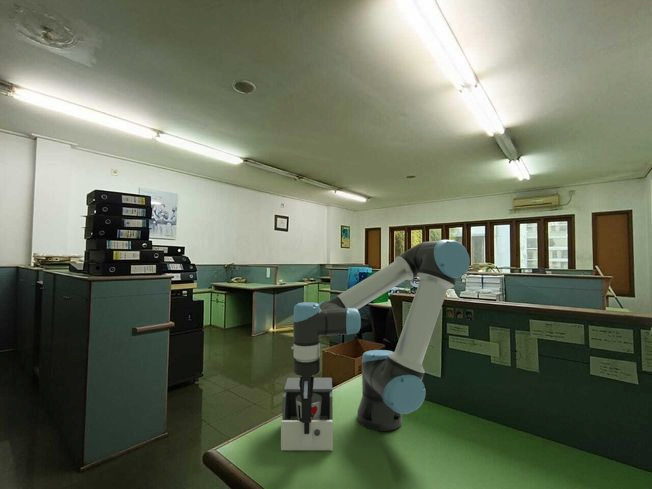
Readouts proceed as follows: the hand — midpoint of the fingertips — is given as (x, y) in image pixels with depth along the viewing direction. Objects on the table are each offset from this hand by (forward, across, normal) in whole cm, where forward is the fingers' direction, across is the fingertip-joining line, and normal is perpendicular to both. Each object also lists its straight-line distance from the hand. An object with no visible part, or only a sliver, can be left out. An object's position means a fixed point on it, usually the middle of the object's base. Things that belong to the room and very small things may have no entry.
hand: (306, 442), depth 86 cm
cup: (+2, -9, 0) cm, 10 cm away
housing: (+4, -10, 0) cm, 11 cm away
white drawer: (+4, -10, 0) cm, 11 cm away
